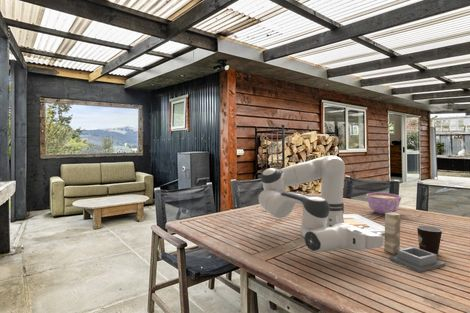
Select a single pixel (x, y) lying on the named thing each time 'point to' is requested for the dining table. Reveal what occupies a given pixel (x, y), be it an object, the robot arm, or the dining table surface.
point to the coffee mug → (429, 238)
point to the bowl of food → (383, 202)
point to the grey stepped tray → (417, 259)
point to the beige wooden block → (392, 232)
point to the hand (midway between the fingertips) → (371, 231)
